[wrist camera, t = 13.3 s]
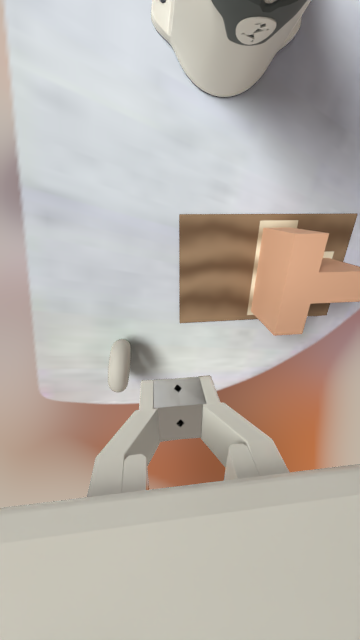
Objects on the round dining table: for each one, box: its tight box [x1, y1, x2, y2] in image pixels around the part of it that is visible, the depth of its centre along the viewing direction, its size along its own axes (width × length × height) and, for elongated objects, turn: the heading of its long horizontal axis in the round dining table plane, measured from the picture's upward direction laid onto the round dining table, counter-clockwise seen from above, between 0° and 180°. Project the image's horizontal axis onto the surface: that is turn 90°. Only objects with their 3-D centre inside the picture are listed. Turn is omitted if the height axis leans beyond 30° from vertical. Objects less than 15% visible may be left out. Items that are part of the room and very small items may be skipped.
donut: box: [108, 339, 131, 392], centre depth 44 cm, size 10×3×10 cm, turn 173°
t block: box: [251, 227, 360, 335], centre depth 40 cm, size 16×14×10 cm
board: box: [179, 214, 357, 323], centre depth 44 cm, size 20×32×1 cm, turn 90°
